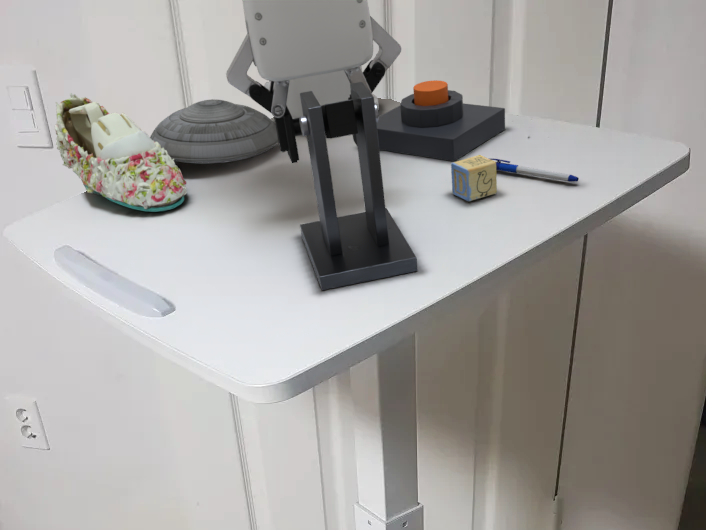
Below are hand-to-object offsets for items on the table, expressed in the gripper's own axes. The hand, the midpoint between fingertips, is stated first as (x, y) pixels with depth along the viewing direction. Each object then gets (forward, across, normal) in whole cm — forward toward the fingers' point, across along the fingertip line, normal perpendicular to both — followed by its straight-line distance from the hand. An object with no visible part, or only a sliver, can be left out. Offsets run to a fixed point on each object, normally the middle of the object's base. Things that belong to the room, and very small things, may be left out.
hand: (326, 149), depth 77 cm
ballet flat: (+6, +21, -18) cm, 28 cm away
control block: (+6, -14, -14) cm, 20 cm away
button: (+2, -14, -14) cm, 19 cm away
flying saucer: (+6, +10, -22) cm, 25 cm away
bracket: (+5, 0, +11) cm, 12 cm away
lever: (-3, 0, +6) cm, 7 cm away
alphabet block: (+6, -13, +3) cm, 14 cm away
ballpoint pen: (+6, -19, +2) cm, 20 cm away
